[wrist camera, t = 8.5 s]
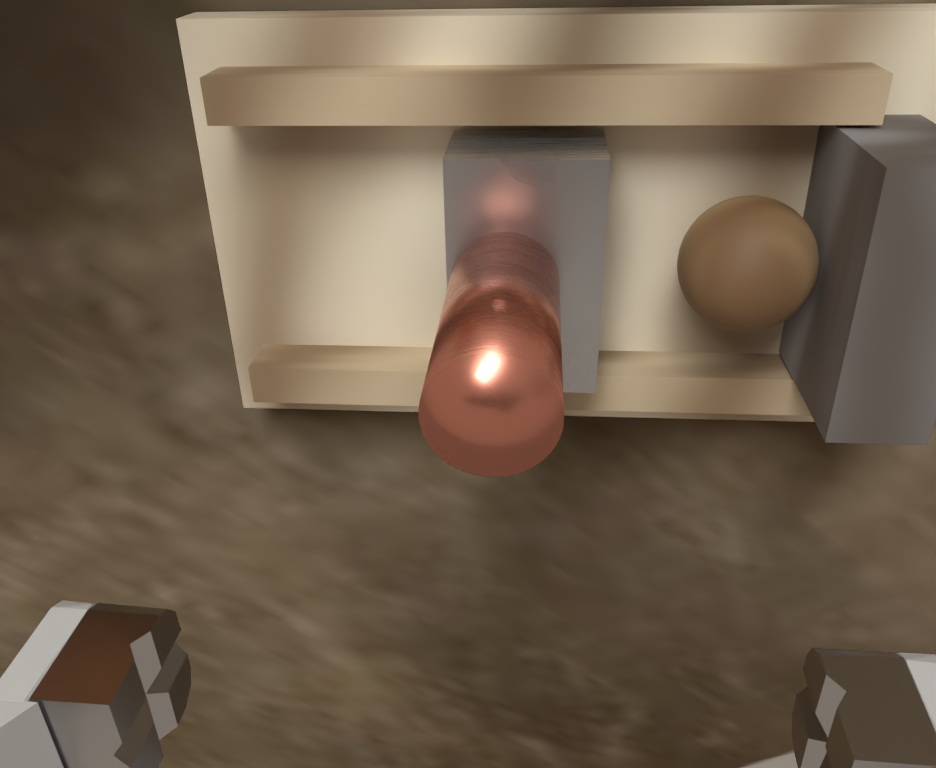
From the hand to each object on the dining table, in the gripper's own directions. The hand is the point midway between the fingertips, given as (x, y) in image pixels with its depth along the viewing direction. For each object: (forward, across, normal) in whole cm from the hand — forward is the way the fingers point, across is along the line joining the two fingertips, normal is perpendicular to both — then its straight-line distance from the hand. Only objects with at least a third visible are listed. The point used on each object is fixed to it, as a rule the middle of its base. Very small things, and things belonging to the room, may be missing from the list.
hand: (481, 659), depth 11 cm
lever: (+16, 0, 0) cm, 16 cm away
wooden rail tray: (+17, -1, 0) cm, 17 cm away
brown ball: (+16, -6, 0) cm, 17 cm away
